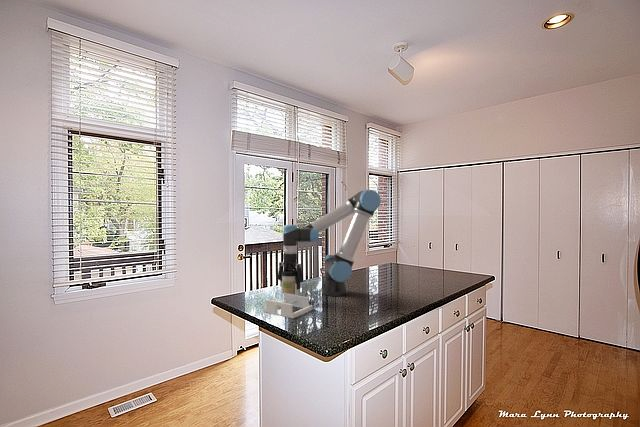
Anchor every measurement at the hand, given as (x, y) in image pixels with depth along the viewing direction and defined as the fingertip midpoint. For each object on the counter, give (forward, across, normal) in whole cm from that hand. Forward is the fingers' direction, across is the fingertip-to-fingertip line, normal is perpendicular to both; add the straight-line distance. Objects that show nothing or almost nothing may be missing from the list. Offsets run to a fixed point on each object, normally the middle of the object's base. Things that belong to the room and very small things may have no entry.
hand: (290, 293), depth 187 cm
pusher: (+3, +11, -16) cm, 20 cm away
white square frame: (+3, +11, -16) cm, 20 cm away
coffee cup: (+3, 0, 0) cm, 3 cm away
